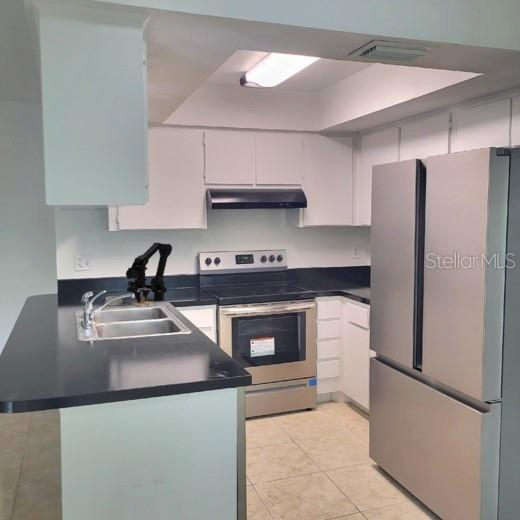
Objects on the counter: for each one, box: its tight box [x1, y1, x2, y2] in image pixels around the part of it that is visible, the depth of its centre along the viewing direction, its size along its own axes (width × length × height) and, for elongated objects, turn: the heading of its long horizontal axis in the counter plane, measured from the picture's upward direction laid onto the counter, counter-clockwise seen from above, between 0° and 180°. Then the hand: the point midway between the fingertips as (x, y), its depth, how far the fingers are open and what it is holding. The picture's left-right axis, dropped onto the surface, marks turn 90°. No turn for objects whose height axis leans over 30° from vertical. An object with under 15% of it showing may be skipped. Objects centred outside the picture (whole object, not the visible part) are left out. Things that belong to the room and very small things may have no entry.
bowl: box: [105, 295, 123, 306], centre depth 328 cm, size 10×10×5 cm
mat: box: [122, 302, 158, 308], centre depth 329 cm, size 17×17×1 cm
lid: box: [125, 295, 157, 307], centre depth 329 cm, size 13×13×5 cm
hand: (141, 301), depth 329 cm, fingers open, 5 cm apart
